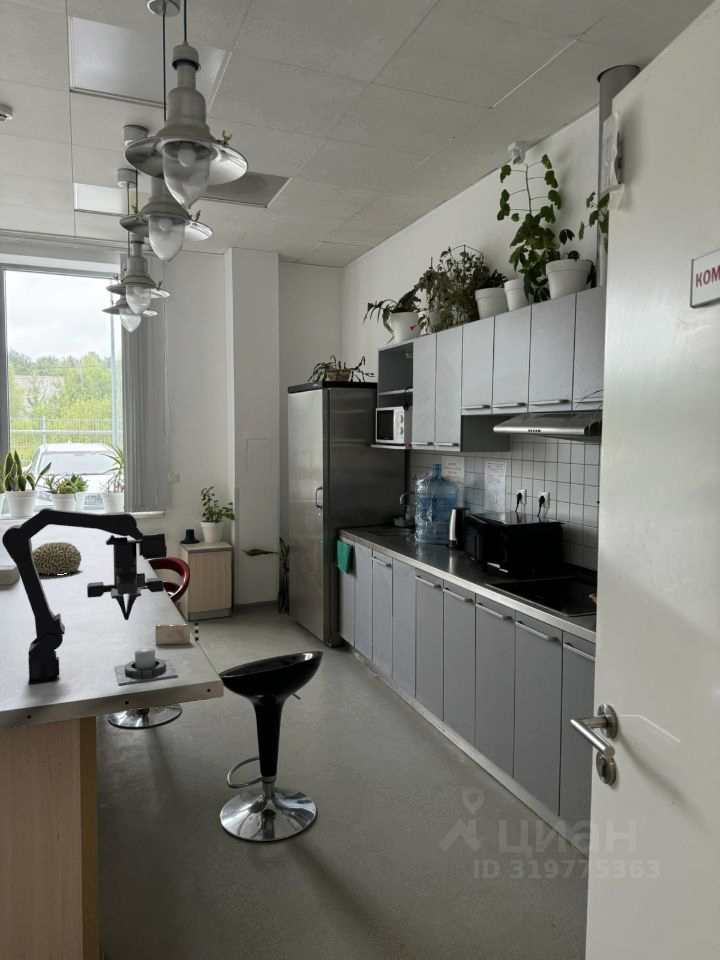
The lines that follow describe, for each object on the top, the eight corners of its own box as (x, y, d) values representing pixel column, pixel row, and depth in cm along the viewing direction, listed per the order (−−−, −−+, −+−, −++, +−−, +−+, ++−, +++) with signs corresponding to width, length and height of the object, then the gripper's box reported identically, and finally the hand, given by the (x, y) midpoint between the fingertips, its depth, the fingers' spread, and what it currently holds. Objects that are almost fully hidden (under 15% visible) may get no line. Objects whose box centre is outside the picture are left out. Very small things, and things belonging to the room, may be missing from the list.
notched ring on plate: (118, 685, 163) (118, 677, 163) (114, 667, 176) (114, 660, 175) (177, 676, 168) (177, 669, 168) (169, 660, 181) (169, 653, 181)
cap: (136, 674, 169) (135, 654, 168) (134, 668, 173) (134, 648, 173) (156, 672, 171) (156, 651, 170) (154, 666, 175) (154, 646, 175)
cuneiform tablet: (198, 621, 199) (157, 623, 198) (196, 624, 195) (154, 626, 194) (198, 641, 199) (157, 642, 198) (196, 644, 196) (154, 645, 195)
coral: (31, 583, 290) (28, 549, 288) (24, 574, 305) (22, 542, 303) (86, 574, 303) (84, 542, 301) (78, 566, 318) (75, 535, 316)
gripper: (87, 568, 163) (88, 631, 164) (166, 563, 170) (167, 623, 171) (86, 561, 173) (87, 620, 174) (160, 556, 180) (161, 613, 181)
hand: (126, 619), depth 175 cm, fingers closed
